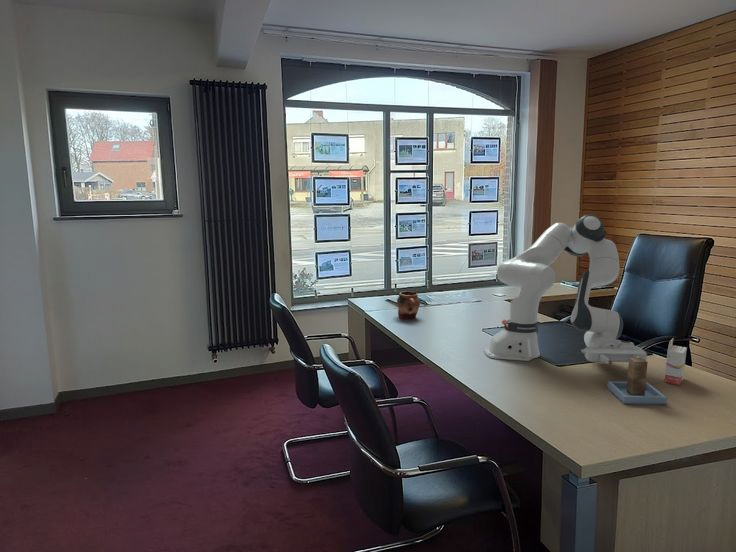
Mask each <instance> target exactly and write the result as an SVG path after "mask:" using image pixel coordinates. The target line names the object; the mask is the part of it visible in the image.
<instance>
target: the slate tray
mask: <svg viewBox="0 0 736 552" xmlns="http://www.w3.org/2000/svg"><path fill="white" fill-rule="evenodd" d="M606 387H607V390H608V391H609V392H611V393H610V394H612V395H613V396H614V397H616V398H617V399H618V400H619V402H621V403H622V404H623V405H644V406H645V405H649V406H653V405H654V406H666V405H667V400H668V397H667V396H666V395H664V394H663V393H662V392H660V391H659V390H658V389H657V388H655V387H654V386H653V385H651V383H650V382H648V381H646V387H645V396H630V395H629V394H628V393H627V381H607V386H606Z"/></svg>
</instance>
